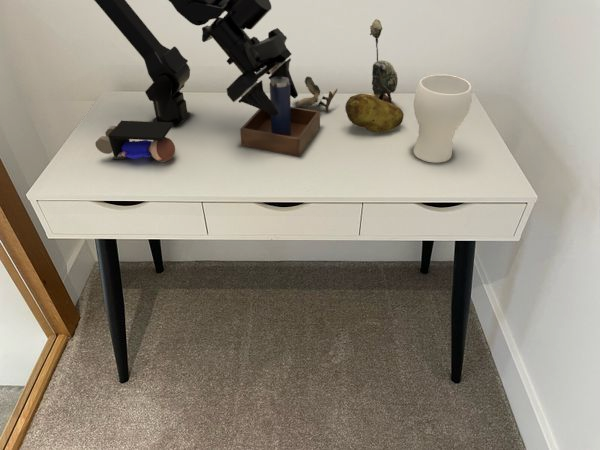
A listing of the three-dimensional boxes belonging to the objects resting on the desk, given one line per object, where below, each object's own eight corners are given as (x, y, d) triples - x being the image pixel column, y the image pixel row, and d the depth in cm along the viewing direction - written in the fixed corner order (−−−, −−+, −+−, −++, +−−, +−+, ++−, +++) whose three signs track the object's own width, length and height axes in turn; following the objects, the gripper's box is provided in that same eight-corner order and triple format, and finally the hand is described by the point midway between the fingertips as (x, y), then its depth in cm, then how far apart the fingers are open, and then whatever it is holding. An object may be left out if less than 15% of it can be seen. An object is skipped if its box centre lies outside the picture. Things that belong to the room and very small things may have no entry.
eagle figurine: (339, 98, 122) (306, 84, 124) (337, 81, 115) (303, 67, 118) (323, 123, 121) (291, 109, 123) (321, 108, 114) (287, 93, 116)
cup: (428, 172, 99) (441, 100, 89) (396, 147, 106) (405, 79, 97) (469, 158, 103) (486, 89, 93) (436, 136, 110) (448, 69, 100)
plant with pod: (369, 119, 116) (378, 31, 103) (357, 98, 125) (363, 14, 112) (403, 117, 117) (415, 29, 104) (389, 96, 126) (399, 12, 113)
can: (271, 139, 108) (268, 84, 100) (272, 129, 111) (269, 75, 103) (290, 139, 108) (289, 84, 100) (291, 129, 111) (290, 75, 103)
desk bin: (241, 145, 107) (240, 128, 104) (265, 118, 117) (265, 102, 114) (299, 156, 103) (299, 139, 101) (319, 127, 113) (320, 111, 110)
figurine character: (102, 169, 102) (171, 168, 99) (89, 136, 98) (160, 134, 95) (117, 152, 108) (182, 151, 105) (104, 120, 103) (172, 117, 100)
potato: (402, 140, 108) (407, 105, 103) (342, 136, 110) (344, 102, 105) (402, 122, 115) (406, 89, 110) (345, 118, 116) (347, 85, 111)
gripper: (235, 34, 89) (291, 103, 93) (282, 6, 102) (330, 67, 106) (203, 69, 97) (256, 132, 100) (250, 39, 110) (296, 95, 113)
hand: (287, 105), depth 105 cm, fingers open, 9 cm apart
